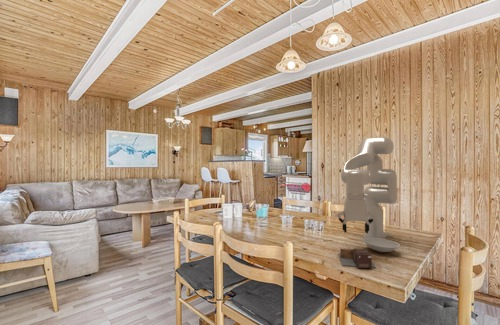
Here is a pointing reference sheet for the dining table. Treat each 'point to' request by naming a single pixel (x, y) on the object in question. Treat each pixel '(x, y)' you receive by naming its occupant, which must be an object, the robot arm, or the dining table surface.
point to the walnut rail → (347, 253)
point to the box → (362, 258)
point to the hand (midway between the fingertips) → (355, 232)
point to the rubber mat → (349, 262)
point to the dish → (381, 244)
